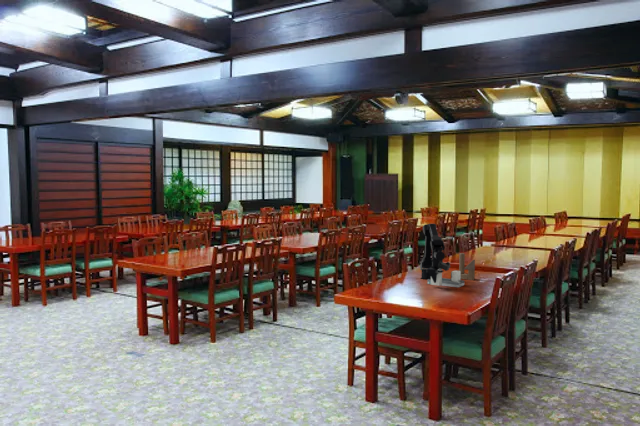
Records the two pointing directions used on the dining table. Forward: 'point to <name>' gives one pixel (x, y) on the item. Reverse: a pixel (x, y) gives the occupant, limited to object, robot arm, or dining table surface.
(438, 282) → the white rectangular block
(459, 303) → the dining table surface
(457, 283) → the rail
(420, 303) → the dining table surface
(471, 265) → the beige frame piece
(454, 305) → the dining table surface
